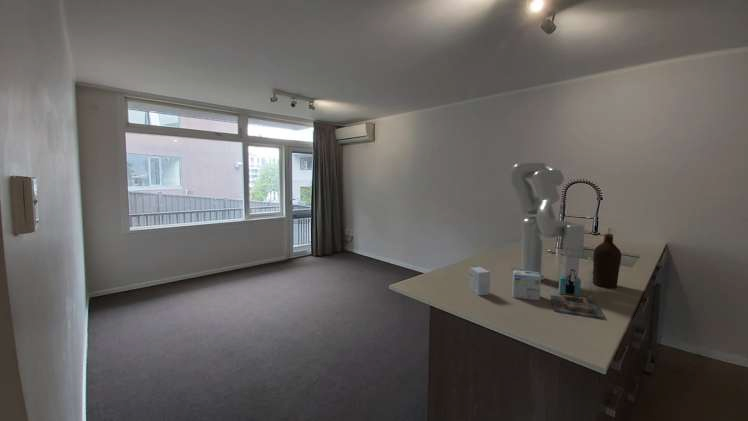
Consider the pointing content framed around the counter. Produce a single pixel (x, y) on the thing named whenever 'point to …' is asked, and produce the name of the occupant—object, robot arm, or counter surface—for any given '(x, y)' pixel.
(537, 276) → the light bulb box
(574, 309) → the board
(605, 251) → the olive oil
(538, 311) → the counter surface
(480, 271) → the small box
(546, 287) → the counter surface
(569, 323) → the counter surface
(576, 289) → the teal block
